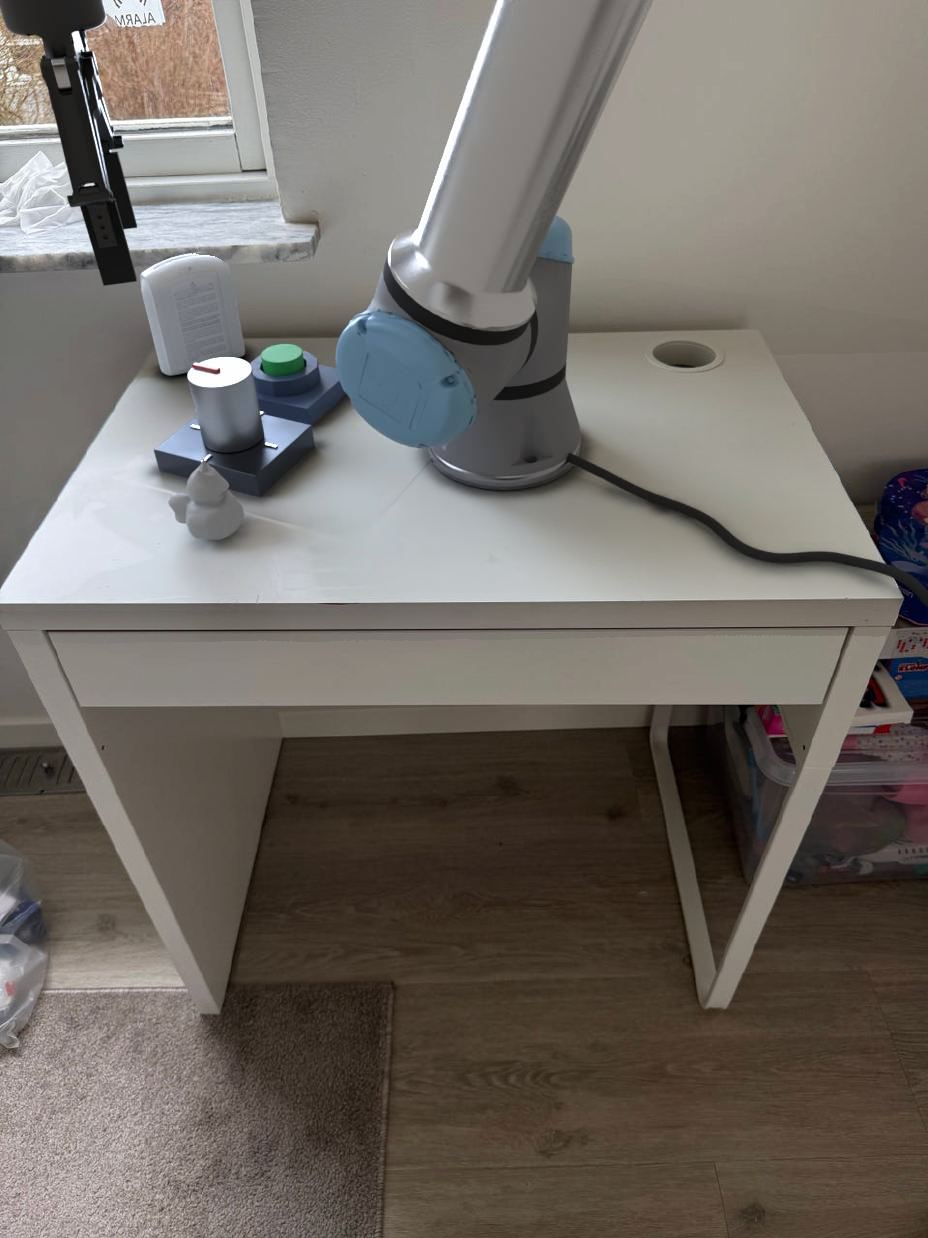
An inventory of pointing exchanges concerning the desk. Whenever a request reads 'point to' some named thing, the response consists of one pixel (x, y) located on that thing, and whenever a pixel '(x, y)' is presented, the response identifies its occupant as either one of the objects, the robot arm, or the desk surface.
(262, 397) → the block
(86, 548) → the desk surface
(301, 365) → the button
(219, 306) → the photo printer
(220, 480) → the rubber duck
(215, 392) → the dial
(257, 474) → the dial panel
